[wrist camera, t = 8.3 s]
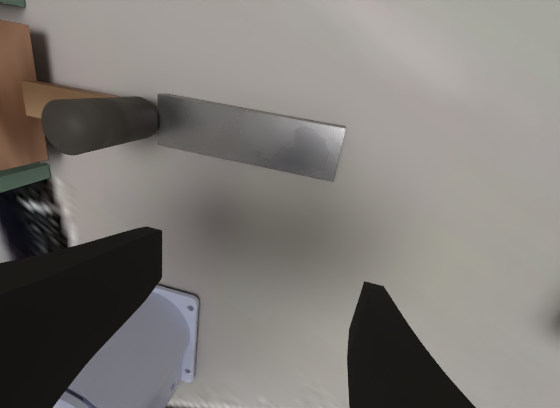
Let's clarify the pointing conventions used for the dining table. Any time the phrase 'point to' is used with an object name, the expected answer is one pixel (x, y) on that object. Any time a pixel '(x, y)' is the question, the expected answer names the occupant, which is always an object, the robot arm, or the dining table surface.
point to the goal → (24, 173)
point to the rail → (250, 136)
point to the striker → (58, 110)
